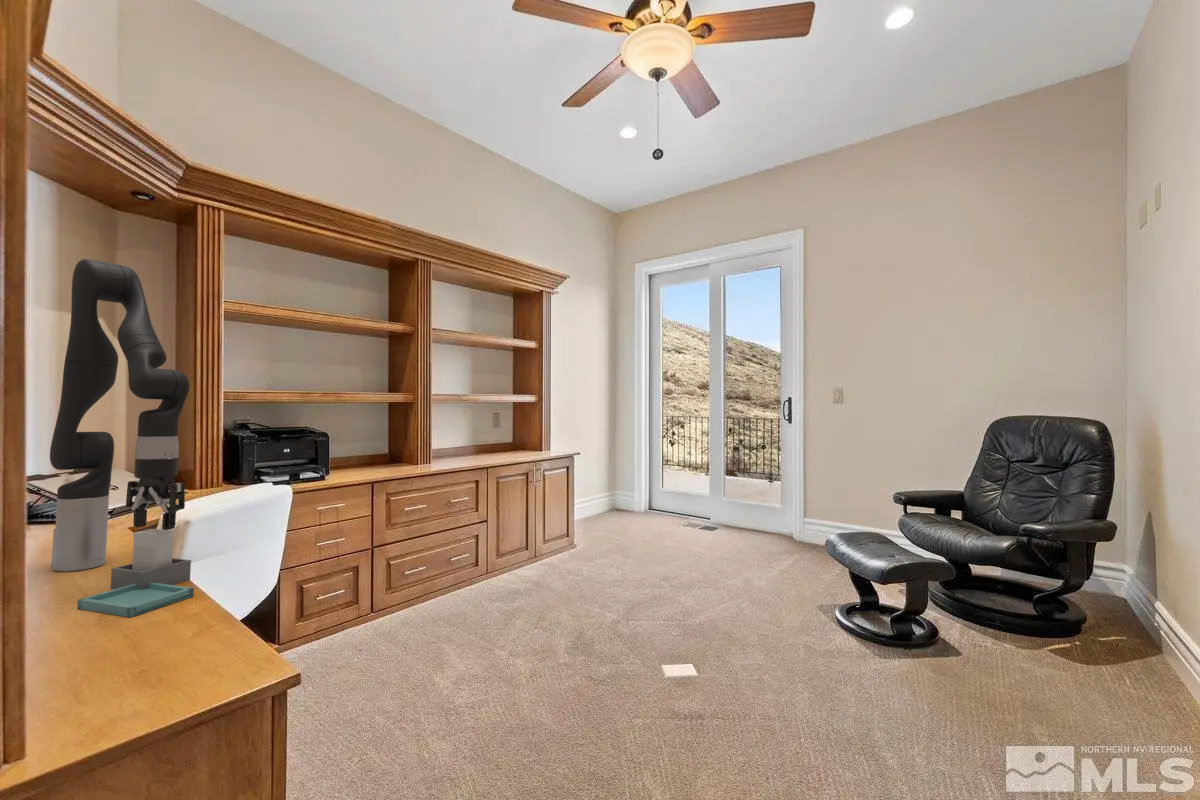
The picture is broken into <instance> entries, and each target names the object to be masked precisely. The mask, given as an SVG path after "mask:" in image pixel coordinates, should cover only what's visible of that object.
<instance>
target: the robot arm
mask: <svg viewBox="0 0 1200 800" xmlns="http://www.w3.org/2000/svg"><path fill="white" fill-rule="evenodd" d="M145 296H146V295H145V293H144V289H143V285H142V283H141V280H140V277H139V275H138V273H137V272H136V271H135V270H133V269H132V268H131V267H130V266H129V267H128V266H126V265H121V264H116V263H111V262H106V261H101V260H96V259H92V258H91V259H89V258H83V259H81V260H79V261H78V262H77V263H76V265H75V266H74V269H73V272H72V280H71V306H70V307H71V308H70V309H71V310H70V311H71V312H70V313H71V314H70V317H71V318H70V326H69V333H68V341H67V342H68V343H67V346H66V347H67V348H66V350H65V351H66V352H65V353H66V354H65V359H64V365H63V372H62V373H63V374H62V384H61V393H60V403H59V408H58V413H57V416H56V421H55V426H54V430H53V434H52V438H51V444H50V451H49V461H50V464H51V466H52V467H53V469H55V470H58V471H67V470H68V471H69V470H70V471H72V470H74V471H75V470H86V469H87V470H88V469H89V470H88V473H87V474H85V475H84V476H82V477H80V478H78V479H76V480H74V481H71V482H67V483H65V484H62V485H59V486H58V488H57V491H56V492H57V493H56V510H55V512H56V515H55V528H54V529H53V532H52V533H53V534H52V535H53V537H52V553H51V554H52V556H51V568H52V569H53V571H55V572H73V571H83V570H88V569H93V568H97V567H101V566H102V565H105V564H106V561H107V560H106V559H107V547H108V546H107V544H108V542H107V541H108V525H109V524H108V523H109V522H108V521H109V503H110V502H109V501H110V488H111V481H112V469H113V462H114V455H115V454H114V453H115V442H114V440H115V439H114V438H113V436H112V434H111V433H109V432H107V431H78V428H79V426H80V424H81V421H82V419H83V418H84V416H85V415H86V414H87V412H88V411H89V410H90V409H91V408H92V407H93V406H94V405H95V404H96V403H98V402H99V400H101V398H103V396H104V397H105V395H106V394H107V393H108V392H109V391H110V390H111V389H112V388H113V386H114V384H115V382H116V378H117V374H118V373H117V372H118V365H119V355H118V354H119V353H118V352H117V349H116V348H115V346H114V345H113V343H112V342H111V339H110V338H109V336H108V335H107V334H106V332H105V331H104V329H103V327H102V325H101V323H100V321H99V316H98V301H101V302H102V301H103V302H110V303H115V304H116V303H117V304H121V305H122V306H123V308H124V309H125V312H126V314H125V315H124V318H123V319H122V321H121V323H120V325H119V327H118V330H117V342H118V344H119V347H120V348H121V351H122V353H123V356H125V360H126V361H127V370H128V372H127V373H128V387H129V389H130V392H131V393H132V394H133V395H134V396H136V397H137V398H140V399H143V400H161V403H160V404H159V405H158V407H157V408H153V409H148V410H144V411H141V412H140V413H139V415H138V419H137V420H138V421H137V439H136V442H135V455H134V456H135V457H134V472H133V473H134V478H135V479H138V480H130V481H128V482H127V486H126V487H127V490H126V500H125V507H126V508H131V510H132V511H133V522H132V523H133V527H134V528H143V527H146V525H147V521H148V519H147V516H148V515H147V514H148V509H147V508H148V507H149V505H150V504H151V503H156V505H157V506H159V507H160V508H161V509H162V511H163V513H162V520H161V521H162V522H161V523H162V525H161V527H162V528H161V529H163V530H174V529H175V526H176V522H177V521H176V518H177V512H178V511H180V510H184V509H185V506H186V503H185V500H186V499H185V498H186V497H185V495H186V494H185V492H186V491H185V490H186V489H185V488H186V487H185V483H184V482H177V483H174V479H173V478H174V477H176V476H178V474H179V473H178V472H179V470H178V469H179V452H180V451H179V449H180V447H179V435H178V434H179V420H180V416H181V413H182V412H183V411H182V410H183V407H184V404H185V402H186V400H187V397H188V394H189V391H190V380H189V378H188V376H187V375H186V373H184V372H183V371H180V370H178V369H165V368H160V367H162V366H163V365H164V364H165V363H166V362H167V354H166V352H165V350H164V348H163V346H162V344H161V342H160V340H159V338H158V335H157V333H156V331H155V329H154V327H153V324H152V320H151V316H150V312H149V309H148V305H147V300H146V297H145ZM133 498H134V499H133ZM133 500H134V501H133ZM177 500H178V504H177Z"/></svg>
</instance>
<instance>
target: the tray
mask: <svg viewBox="0 0 1200 800" xmlns="http://www.w3.org/2000/svg"><path fill="white" fill-rule="evenodd" d="M194 589H195V588H194V587H189V586H181V585H176V584H173V585H169V584H161V583H154V582H153V583H149V584H148V589H144V590H139V589H137V584H132V585H128V586H125V587H121V588H118V589H114V590H113V589H110V590H108V591H103V592H100V593H96V594H94V595H93V594H92V595H89V596H86V597H83V598H79V599H77V610H82V611H89V612H95V613H102V614H107V615H113V616H119V617H120V616H121V617H126V618H133V617H136V616H139V615H142V614H145V613H148V612H152V611H154V610H157V609H161V608H163V607H166V606H169V605H172V604H176V603H178V602H180V601H181V602H182V601H185V600H188V599H191V598H192V597H194V592H195V591H194Z"/></svg>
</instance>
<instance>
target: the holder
mask: <svg viewBox="0 0 1200 800" xmlns="http://www.w3.org/2000/svg"><path fill="white" fill-rule="evenodd" d="M191 561H192V560H191V559H186V558H177V557H172V564H171V565H167V566H164V567H160V568H156V569H152V570H148V571H145V572H144V571H136V570H132V564H133V562H131V563H129V564H124V565H120V566H116V567H112V568H111V569H110V570H111V573H110V574H111V575H110V590H114V589H118V588H121V587H125V586H128V585H132V584H137V589H139V590H144V589H148V584H149V583H153V582H154V583H161V584H169V585H176V584H180V583H182V582H183V583H184V582H186V581H189V580H191V568H192V567H191V565H192V562H191Z"/></svg>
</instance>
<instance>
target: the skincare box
mask: <svg viewBox="0 0 1200 800" xmlns="http://www.w3.org/2000/svg"><path fill="white" fill-rule="evenodd" d="M174 533H175V532H174V529H170V530H163V529H162V528H149V529H144V530H139V531H135V532H133V546H132V548H133V549H132V563H133V564H132V563H131V564H132V570H136V571H144V572H145V571H148V570H152V569H156V568H160V567H164V566H167V565H171V564H172V558H174V557H173V554H174V552H173V551H174Z"/></svg>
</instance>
